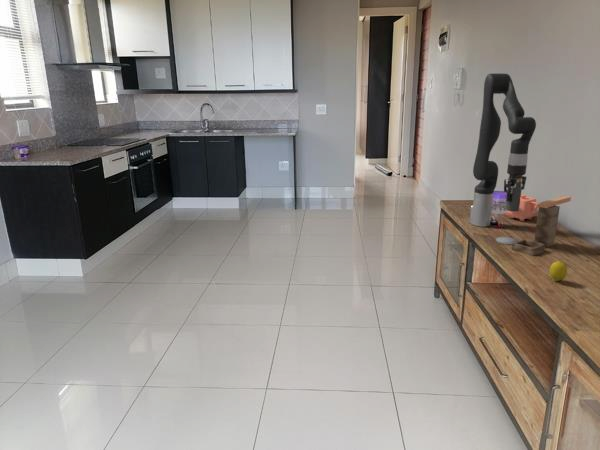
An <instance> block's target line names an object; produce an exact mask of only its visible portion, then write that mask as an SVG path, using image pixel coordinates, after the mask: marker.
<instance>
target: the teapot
mask: <svg viewBox="0 0 600 450" xmlns="http://www.w3.org/2000/svg"><path fill="white" fill-rule="evenodd" d="M539 206H540V202H537V198H535V197H532V196H527V195H526V194H521V198H520V205H519V211H507V210H505V216H508V218H509V219H511V220H513V219H515V218H516V219H519V222H525V219H526V220H532V218H533V217H535V216H536V214H537V212H538V211H537V210H538V209H539Z"/></svg>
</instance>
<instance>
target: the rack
mask: <svg viewBox="0 0 600 450" xmlns="http://www.w3.org/2000/svg"><path fill="white" fill-rule="evenodd" d="M560 209H561V207H560V206H559V205H556V206H552V207H549V208H542V207H538V209H537V210H538V211H537V218H536V223H535V224H536V225H535V231H534V239H533V240H530V239H525V238H524V239H520V240H519V241H517V242H515V243H512V245H511V250H512V251H515V252H519V253H521V254H525V255H529V256H536V255H539V254H541V253H543V252H545V251H546V250H545V249H546V248H549V247H552V246H554V245H555V240H556V239H555V238H556V233H557V227H558V221H559V214H560Z"/></svg>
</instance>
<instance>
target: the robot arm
mask: <svg viewBox="0 0 600 450" xmlns="http://www.w3.org/2000/svg"><path fill="white" fill-rule="evenodd" d="M516 92H517V91H516V90H515V86H514V82H513V79H512V77H511V76H510V74H508V73H499V72H498V73H495V72H494V73H488V74H487V75H486V76H485V78H484V83H483V97H482V98H483V99H482V101H483V102H482V112H481V119H480V125H479V126H480V127H479V137H478V142H477V143H478V144H477V150H476V155H475V159H474V163H473V169H472V173H473V176H474V179H475V180H477V181H480V182H479V183H478V184H477V185H475V187H474V191H473V192H474V194H473V202H472V203H473V204H472V205H471V207H470V215H469V224H471V225H473V226H476V227H483V228H484V227H490V225H491V219H492V210H493V202H494V193H495V189H496V188H497V183H498V178H499V177H498V176H499V167H498V163H497V162H495V161H493V160H490V155H491V151H492V149H493V148H494V147H495V145H496V143H497V141H498V140H499V136H500V134H501V128H502V127H501V125H502V121H501V117H500V115H499V114H498V113H499V112H498V111H497V109H496V107H495V103H494V96H495V94H497V95H499V94H503V95H504V96H505V98H504V100H503V104H502V110H503V111H504V114H505V116H506V118H507V122H508V131H509V132H510V133H512V134H513V135H521V136H520V137H519V138H516V139H513V140H512V141H511V143H510V151H509V157H508V163H507V169H506V173H507V174H508V175H509V176H508V178H507V179H506V178H505V179H504V180H503V192H504V193H506V195H507V198H506V197H505V202H506V201H508V202H511V201H512V193H513V190H514V189H515V188H516V183H518V179H517V180H515V179H516V178H520V177H521V178H522V179H521V181H520V182H522V183H521V184H520V187H521V188H522V190H521V192H522V191H523V190H525V186H526V182H527V179H528V178H527V176H525V175H526V173H527V167H528V166H527V165H528V159H529V158H528V156H529V155H528V153H529V146H530V143H531V140H532V138H533V135H534V133H535V130H536V127H537V122H536V120H535V118H534V117H531V116H525V110H524V108H523V106H522V104H521V103H520V102H519V98H518V97H517V93H516ZM512 186H513V187H512ZM511 188H512V189H511Z"/></svg>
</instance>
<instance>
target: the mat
mask: <svg viewBox="0 0 600 450" xmlns="http://www.w3.org/2000/svg"><path fill="white" fill-rule="evenodd" d="M495 241H496V242H497V243H498V244H502V245H507V246H512V243H515V242H517V241H520V240H519V239H517V238H514V237H507V236H501V237H500V236H499V237H496V239H495Z"/></svg>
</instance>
